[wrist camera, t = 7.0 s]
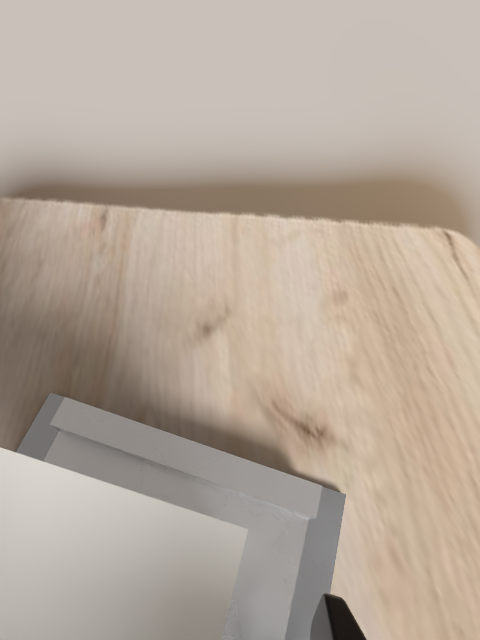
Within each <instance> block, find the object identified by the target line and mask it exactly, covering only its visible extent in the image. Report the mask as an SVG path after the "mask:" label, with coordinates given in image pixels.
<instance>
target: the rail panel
mask: <svg viewBox="0 0 480 640" xmlns="http://www.w3.org/2000/svg"><path fill="white" fill-rule="evenodd" d="M16 453H19V454H22V455H25V456H28V457H31V458H34V459H37V460H40V461H43V462H46V463H49V464H52V465H55V466H58V467H61V468H64V469H67V470H70V471H73V472H76V473H79V474H82V475H85V476H88V477H92V478H95V479H98V480H101V481H104V482H107V483H110V484H113V485H116V486H119V487H122V488H125V489H128V490H131V491H134V492H137V493H140V494H143V495H146V496H149V497H152V498H155V499H158V500H161V501H164V502H167V503H170V504H173V505H176V506H179V507H182V508H185V509H188V510H191V511H194V512H197V513H200V514H203V515H207V516H210V517H213V518H216V519H219V520H222V521H225V522H228V523H231V524H234V525H237V526H240V527H243V528H246V529H248V533H247V537H246V541H245V545H244V549H243V553H242V557H241V561H240V565H239V569H238V573H237V577H236V582H235V586H234V590H233V594H232V598H231V602H230V606H229V610H228V614H227V618H226V622H225V626H224V630H223V635H222V639H221V640H310V630H311V623H312V620H313V617H314V614H315V612H316V609H317V607H318V604H319V601H320V599H321V597H322V595H323V594H325V593H327V594H330V590H331V583H332V577H333V571H334V565H335V559H336V553H337V547H338V540H339V534H340V528H341V522H342V516H343V510H344V504H345V498H346V494H343V493H340V492H337V491H334V490H331V489H328V488H325V487H322V485H319V484H316V483H313V482H310V481H307V480H304V479H301V478H299V477H296V476H293V475H290V474H287V473H284V472H281V471H278V470H275V469H273V468H270V467H267V466H264V465H261V464H258V463H255V462H252V461H249V460H247V459H244V458H241V457H238V456H235V455H232V454H229V453H226V452H223V451H221V450H218V449H215V448H212V447H209V446H206V445H203V444H200V443H197V442H194V441H192V440H189V439H186V438H183V437H180V436H177V435H174V434H171V433H168V432H166V431H163V430H160V429H157V428H154V427H151V426H148V425H145V424H142V423H140V422H137V421H134V420H131V419H128V418H125V417H122V416H119V415H116V414H114V413H111V412H108V411H105V410H102V409H99V408H96V407H93V406H90V405H88V404H85V403H82V402H79V401H76V400H73V399H70V398H67V397H62V396H60V395H57V394H54V393H51V392H50V394H49V395H48V397H47V399H46V401H45V402H44V404H43V406H42V407H41V409H40V411H39V413H38V414H37V416H36V418H35V419H34V421H33V423H32V425H31V426H30V428H29V430H28V431H27V433H26V435H25V437H24V438H23V440H22V442H21V444H20V445H19V447H18V449H17V450H16Z"/></svg>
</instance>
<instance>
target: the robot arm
mask: <svg viewBox="0 0 480 640" xmlns="http://www.w3.org/2000/svg"><path fill="white" fill-rule="evenodd" d="M310 640H367V639H366V638H365V636H364V634H363V632H362V631H361V629H360V627H359V625H358V623H357V622H356V620H355V618H354V616H353V615H352V613H351V611H350V609H349V607H348V606H347V604H346V602H345V601H344V600H343V599H342V598H341V597H338V596H335V595H331V594H327V593H325V594H323V595H322V597H321V599H320V601H319V604H318V607H317V609H316V612H315V614H314V617H313V620H312V623H311V630H310Z"/></svg>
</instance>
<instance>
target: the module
mask: <svg viewBox="0 0 480 640" xmlns="http://www.w3.org/2000/svg"><path fill="white" fill-rule="evenodd" d="M247 533H248V529H246V528H243V527H240V526H237V525H234V524H231V523H228V522H225V521H222V520H219V519H216V518H213V517H210V516H207V515H203V514H200V513H197V512H194V511H191V510H188V509H185V508H182V507H179V506H176V505H173V504H170V503H167V502H164V501H161V500H158V499H155V498H152V497H149V496H146V495H143V494H140V493H137V492H134V491H131V490H128V489H125V488H122V487H119V486H116V485H113V484H110V483H107V482H104V481H101V480H98V479H95V478H92V477H88V476H85V475H82V474H79V473H76V472H73V471H70V470H67V469H64V468H61V467H58V466H55V465H52V464H49V463H46V462H43V461H40V460H37V459H34V458H31V457H28V456H25V455H22V454H19V453H16V452H13V451H10V450H7V449H4V448H1V447H0V640H221V639H222V635H223V630H224V626H225V622H226V618H227V614H228V610H229V606H230V602H231V598H232V594H233V590H234V586H235V582H236V577H237V573H238V569H239V565H240V561H241V557H242V553H243V549H244V545H245V541H246V537H247Z"/></svg>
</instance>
